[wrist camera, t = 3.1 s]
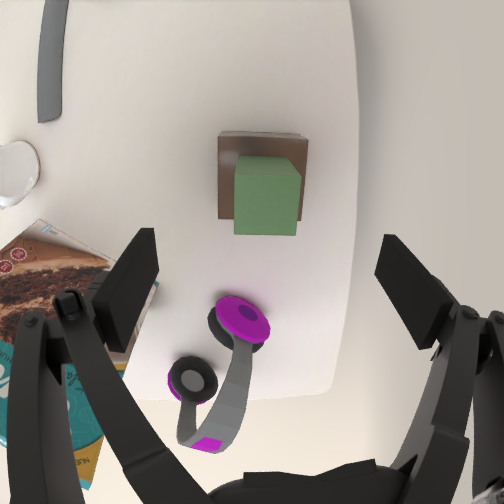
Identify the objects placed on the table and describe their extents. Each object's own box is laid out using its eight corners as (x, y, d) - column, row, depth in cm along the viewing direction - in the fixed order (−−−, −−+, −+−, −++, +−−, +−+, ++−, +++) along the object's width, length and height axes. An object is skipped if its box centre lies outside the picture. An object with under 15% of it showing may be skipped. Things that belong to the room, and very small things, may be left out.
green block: (287, 157, 29) (301, 176, 21) (284, 203, 31) (295, 236, 24) (237, 155, 28) (234, 173, 21) (236, 202, 31) (233, 234, 24)
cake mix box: (158, 282, 41) (91, 483, 15) (146, 309, 44) (88, 490, 18) (39, 218, 36) (-92, 351, 10) (35, 249, 38) (-74, 381, 12)
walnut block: (299, 134, 32) (308, 139, 28) (294, 206, 36) (300, 221, 32) (221, 131, 32) (217, 135, 27) (221, 204, 36) (217, 219, 32)
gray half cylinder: (39, 123, 29) (32, 125, 28) (47, 0, 20) (40, -2, 18) (62, 117, 29) (55, 119, 28) (70, -10, 20) (64, -13, 18)
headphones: (211, 376, 52) (203, 472, 35) (168, 359, 50) (148, 457, 32) (273, 305, 44) (287, 424, 26) (221, 280, 41) (208, 403, 24)
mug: (1, 182, 32) (-41, 207, 23) (10, 130, 29) (-37, 146, 20) (46, 208, 35) (5, 239, 26) (58, 152, 31) (11, 173, 22)
